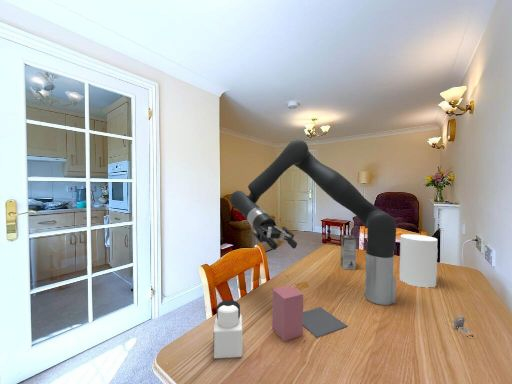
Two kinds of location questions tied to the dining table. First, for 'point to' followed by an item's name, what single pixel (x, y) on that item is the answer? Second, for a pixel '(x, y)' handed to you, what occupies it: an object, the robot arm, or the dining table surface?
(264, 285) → the dining table surface
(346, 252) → the coffee box
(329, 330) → the mat
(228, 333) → the medicine bottle
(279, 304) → the tall pink pillar
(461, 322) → the strap clip
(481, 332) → the dining table surface
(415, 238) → the canister
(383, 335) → the dining table surface
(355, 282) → the dining table surface
